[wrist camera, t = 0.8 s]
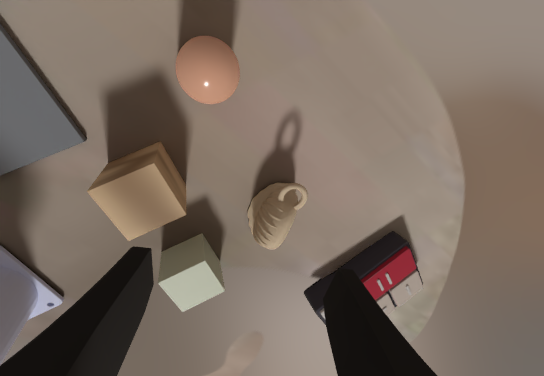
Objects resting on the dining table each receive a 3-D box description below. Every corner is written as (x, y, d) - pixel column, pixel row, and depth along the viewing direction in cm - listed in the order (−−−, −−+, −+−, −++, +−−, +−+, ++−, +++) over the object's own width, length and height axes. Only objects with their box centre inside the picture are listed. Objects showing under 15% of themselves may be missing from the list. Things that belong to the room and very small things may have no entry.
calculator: (428, 289, 38) (347, 352, 37) (405, 269, 42) (331, 326, 41) (413, 243, 32) (317, 317, 32) (388, 226, 36) (302, 291, 35)
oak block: (139, 205, 24) (128, 240, 19) (108, 162, 21) (86, 191, 17) (185, 184, 24) (186, 214, 19) (160, 141, 22) (153, 163, 17)
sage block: (182, 278, 28) (182, 312, 25) (161, 251, 26) (157, 283, 23) (219, 261, 29) (225, 290, 25) (202, 232, 27) (205, 260, 23)
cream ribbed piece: (237, 229, 28) (248, 262, 23) (271, 160, 26) (290, 182, 21) (269, 237, 30) (285, 269, 25) (304, 173, 27) (328, 196, 23)
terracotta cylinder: (192, 103, 21) (194, 113, 17) (167, 51, 19) (163, 49, 15) (237, 85, 22) (248, 90, 18) (217, 33, 20) (225, 25, 16)
